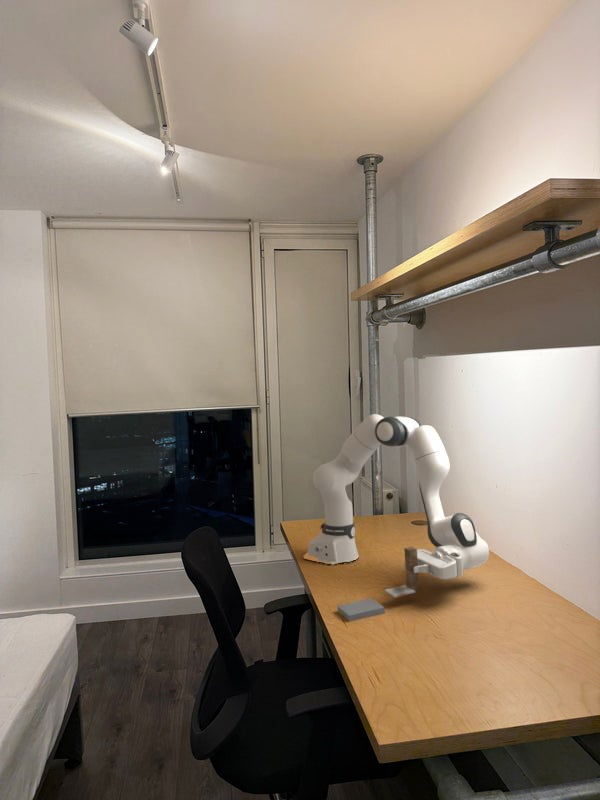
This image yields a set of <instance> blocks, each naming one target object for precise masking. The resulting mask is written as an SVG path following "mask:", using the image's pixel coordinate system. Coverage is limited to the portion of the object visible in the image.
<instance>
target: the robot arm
mask: <svg viewBox="0 0 600 800" xmlns="http://www.w3.org/2000/svg"><path fill="white" fill-rule="evenodd" d="M381 445H383V446H386V447H396V448H398V447H399V448H400V447H401V448H402V447H408V448H409V450H411V453H412V455H413V459H414V461H415V464H416V467H417V472H418V486H419V492H420V496H421V501H422V504H423V509H424V514H425V517H426V523H427V536H428V539H429V541H430V543H431V544H432V546H434V547H435V548H434V549H433V551H429V550H427V549H423V548H419V549H418V548H416V549H417V561H418V566H417V565H415V566H412V571H413V572H415V573H418V574H419V573H427V574H430V575H432V576H433V577H435V578H437V579H440V580H448V579H449V580H450V579H454V578H457V579H458V578H463V574H464V571H463V570H470V569H473V568H476V567H479V566H481V565H483V564H485V563H486V562H487V560H488V559H489V556H490V549H489V545H488V543H487V542H486V541H485V540H484V539H483V538H481V536H480V535H479V534H478V532H477V530H476V528H475V524H474V522H473V520H472V519H471V517H470V516H469V515H467V514H466V513H463V512H457V513H456V512H455V513H454V514H451V515H449V516H445V514H444V513H445V512H444V510H443V506H442V502H441V498H440V489H441V486H442V484H443V482H444V481H445V480H446V478H447V476H448V474H449V473H450V469H451V466H450V465H451V463H450V460H449V456H448V454H447V451H446V449H445V446H444V444H443V442H442V439H441V438H440V436H439V434H438V432H437V431H436V429H435V428H434V427H433V426H431V425H428V424H427V425H426V424H423V425H422V424H421V422H420V421H419V420H418V419H416V418H413V417H409V416H403V415H402V416H401V415H400V416H399V415H398V416H386V417H384V416H382V415H380V414H378V413H373V414H369V416H368V417H366V418H365V419H363V421H362V422H360V424H359V425H358V426H357V427H356V428H355V429H354V430H353V431H352V433H351V434H350V435H349V437H347V439H346V440H345V442H344V443H343V444H342V445H341V450H340V452H339V454H338V455H337V456H336V458H335V459H333V460H331V461H329V462H326V463H323V464H321V465H320V466H319V467H318V468H316V469H315V471H314V472H313V474H312V482H313V483H312V484H313V485H314V486H315V488H316V489H317V490H318V491H319V493H320V495H321V498H322V501H323V508H324V523H322V524H320V525H319V529H320V530H321V531H320V532H319V533H318V534H317V535H315V537H313V538H312V539H311V540H310V541H309V544H308V549H307V551H308V555H309V556H313V557H316V558H318V560H319V561H322V562H326V563H330V564H335V563H340V562H341V563H342V562H350V561H353V560H356V559H357V558H358V557H359V558H360V556H359V553H358V548H357V544H356V538H355V536H356V527H355V521H354V514H353V513H354V511H353V503H352V501H351V500H350V499H349V497H348V495H347V490H346V486H348V485H351V484H352V483H354V481H356V480H357V479H358V477H359V474H360V472H361V471H362V469H363V467H364V465H365V464H366V463H367V461H368V460H369V459H370V457H372V455H374V453H375V452H376V451H377V449H379V447H380V446H381ZM356 561H357V560H356ZM350 563H351V562H350ZM403 564H404V566H403V567H404V568H405V562H404V563H403Z"/></svg>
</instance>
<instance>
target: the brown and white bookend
mask: <svg viewBox="0 0 600 800" xmlns="http://www.w3.org/2000/svg"><path fill="white" fill-rule="evenodd" d="M403 549H404V563H405V567H404V568H405V578H406V580H405V583H406V584H403V585H399V586H396V587H392V588H391V587H390V588H386V589H384V592H385V593H386V594H388V595H390V596H391V597H394V598H398V597H402V596H406V595H410V594H411V595H412V594H414V593H416V591H418V590H420V582H419V572H418V573H415V572H413V571H412V566H415V565H417V566H418V561H417V549H418V548H415V547H414V546H409V547H404V548H403Z"/></svg>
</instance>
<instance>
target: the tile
mask: <svg viewBox="0 0 600 800" xmlns="http://www.w3.org/2000/svg"><path fill="white" fill-rule="evenodd" d="M336 608H337V611H338V612H339V614H340V613H341V614H342V615H343V616H344V617H345V618H344V617H343V616H342V615H341V614H340V615H341V616H342V617H343V618H344V619H345V620H347V621H348V622H349V621H350V622H354V621H358V620H362V619H366V618H369V617H373V616H378V615H382V614H385V613H386V612H385V611H386V610H385V607H384V605H382V604H380V603H379V602H377V601H376V600H374V599H373V598H372V597H371V598H367V599H362V600H356V601H353V602H349V603H345V604H339V605H337V607H336ZM338 612H337V613H338Z"/></svg>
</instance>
